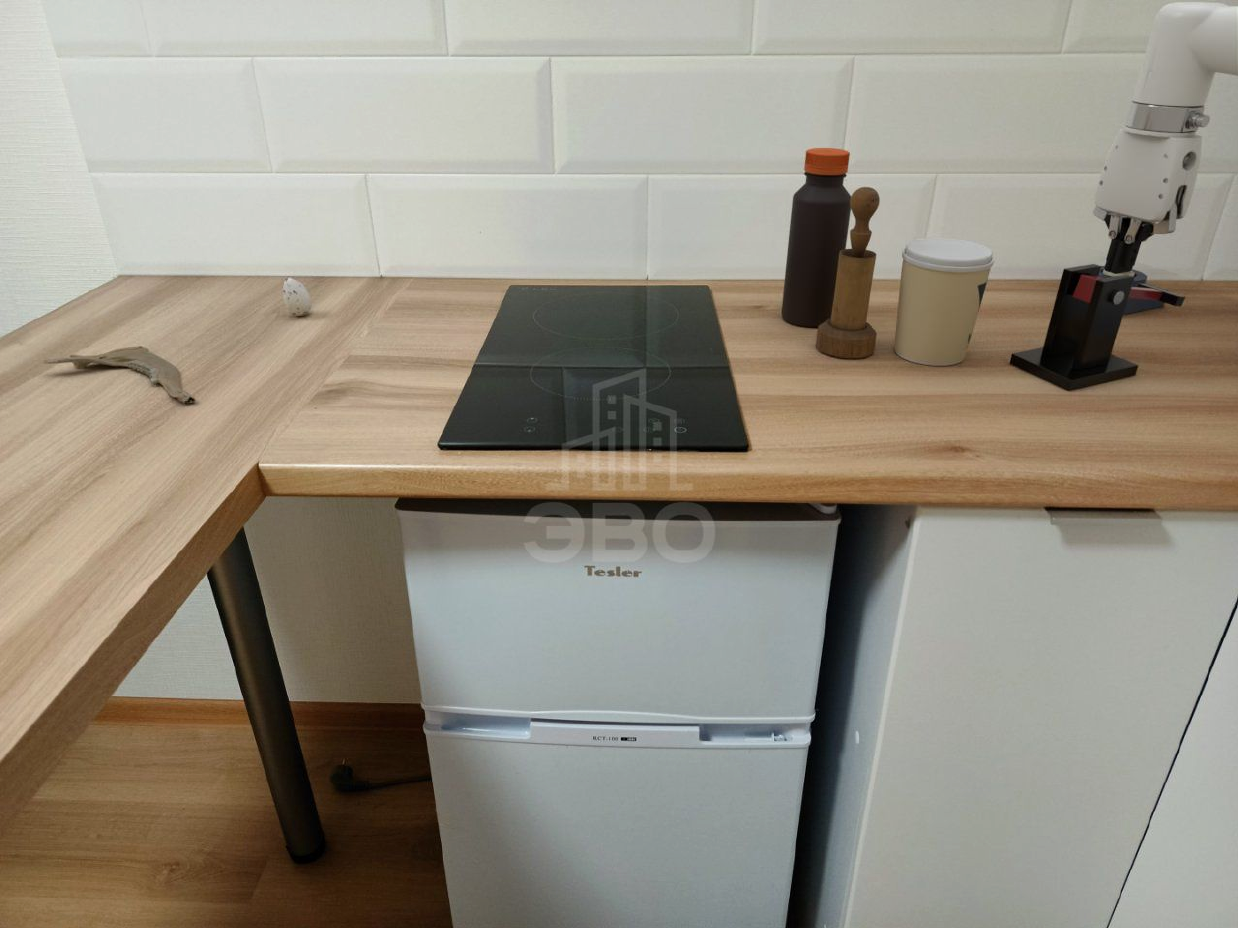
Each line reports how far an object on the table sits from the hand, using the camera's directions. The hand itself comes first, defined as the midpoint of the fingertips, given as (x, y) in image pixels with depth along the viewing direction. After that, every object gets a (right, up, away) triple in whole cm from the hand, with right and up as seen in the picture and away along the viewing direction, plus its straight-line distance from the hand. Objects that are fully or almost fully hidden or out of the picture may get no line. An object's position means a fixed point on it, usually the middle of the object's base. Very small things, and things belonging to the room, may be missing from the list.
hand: (1117, 270), depth 111 cm
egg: (-105, -6, -3) cm, 105 cm away
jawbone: (-117, -17, -21) cm, 120 cm away
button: (0, -2, +1) cm, 2 cm away
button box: (0, -4, +2) cm, 4 cm away
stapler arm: (-11, -8, -19) cm, 23 cm away
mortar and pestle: (-39, -12, -12) cm, 42 cm away
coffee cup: (-29, -13, -13) cm, 34 cm away
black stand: (-15, -15, -17) cm, 27 cm away
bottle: (-41, -7, -3) cm, 42 cm away
